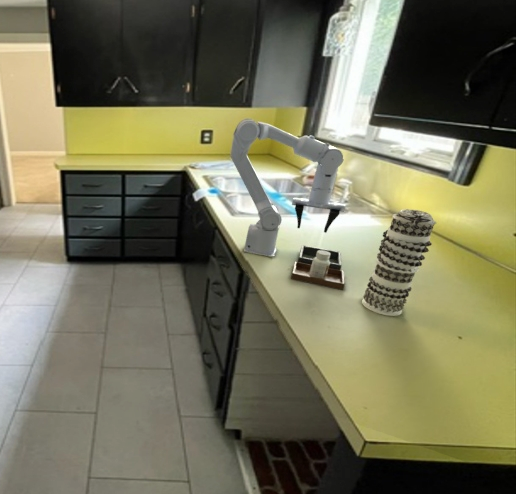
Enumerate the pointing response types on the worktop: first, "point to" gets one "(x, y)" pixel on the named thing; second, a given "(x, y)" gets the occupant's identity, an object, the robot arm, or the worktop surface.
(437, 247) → the worktop surface
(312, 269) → the pill bottle
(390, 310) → the decorative candle
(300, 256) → the dark grey square frame
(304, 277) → the tray
